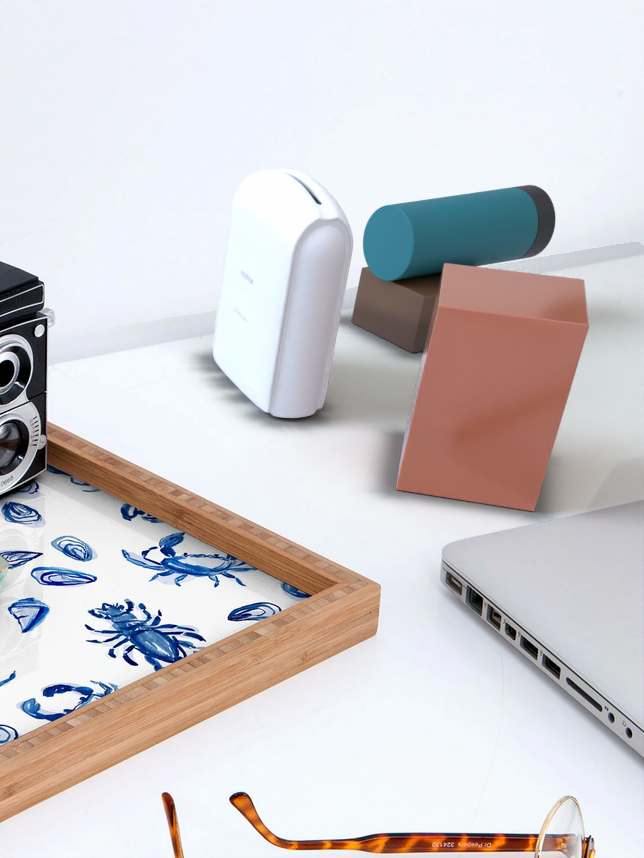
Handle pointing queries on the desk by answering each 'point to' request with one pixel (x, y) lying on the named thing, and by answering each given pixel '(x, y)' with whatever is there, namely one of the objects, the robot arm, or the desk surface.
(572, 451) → the desk surface
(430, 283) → the block
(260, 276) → the photo printer
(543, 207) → the bottle
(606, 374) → the desk surface
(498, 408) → the plinth
